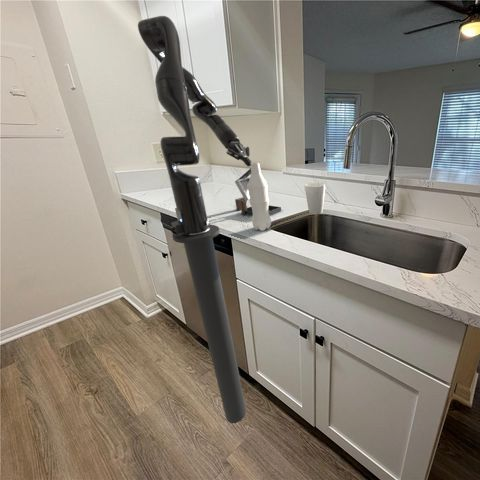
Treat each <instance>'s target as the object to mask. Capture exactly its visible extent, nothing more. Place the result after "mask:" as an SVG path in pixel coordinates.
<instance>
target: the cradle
mask: <svg viewBox="0 0 480 480" xmlns="http://www.w3.org/2000/svg"><path fill="white" fill-rule="evenodd" d="M234 202H235V208H236V209H235V210H236V211H239V212H240V211H241V210H242V211H241V214H242V213H243V214H242V216H247V215H246V208H248V205H247V203H245V199H244V197H243V196H242V197H239V198H235V199H234Z"/></svg>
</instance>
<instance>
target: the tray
mask: <svg viewBox="0 0 480 480" xmlns="http://www.w3.org/2000/svg"><path fill="white" fill-rule="evenodd" d="M240 211H241V215H243V213H242V210H240ZM268 211H269V216H273V215H275V214H277V213H280V212H282V207H281V206H275V205H269V206H268ZM245 216H251V217H253V211H252V207H251V206H248V207H247V208H246V215H245Z"/></svg>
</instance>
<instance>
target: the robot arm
mask: <svg viewBox="0 0 480 480" xmlns="http://www.w3.org/2000/svg"><path fill="white" fill-rule="evenodd" d="M137 29H138V33H139V36H140V38H141V40H142V41H143V43H144V44H145V46H146V48H147V49H148V50H149V51H150V53H152V55H153V56H154V57H155V58H156V59H157V61H158V62H159V63H160V65H159V66H158V69H157V71H156V74H155V78H154V84H155V85H154V86H155V90H156V95H157V101H158V102H159V104H160V105H161V107H162V108H163V109H164V110H165V112H166V113H167V114H168V115H169V116H170V117H171V118H172V119H173V121H175V122H176V123H177V124H178V126H179V128H180V129H181V130H182V132H183V134H184V135H183V136H181V135H179V136H176V135H175V136H163V137H161V138H160V150H161V153H162V158H163V160H164V163H165V167H166V170H167V175H168V179H169V182H170V186H171V191H172V195H173V199H174V203H175V208H174V211H175V215H176V219H177V220H175V221H171V222H170V224H171V227H172V228H171V229H170V231H171V234H172V235H173V234H179V233H182V234H183V235H184V236H186V237H188V236H196V235H201V234H204V233H207V232H208V231H209V230H210V228H209V225H210V219H209V218H208V215H207V210H206V205H205V199H204V195H203V189H202V185H201V179H200V177H199V176H197V175H196V174H195V175H194V174H190V173H187V172H184V171H183V170H181V169H179V168H178V167H184V166H195V165H198V164H199V163H200V157H201V156H200V150H199V146H198V142H197V141H198V140H197V137H196V134H195V130H194V125H193V122H192V115H194V117H195V118H196V119H198V120H199V121H201V122H202V123H203V124H205V125H206V126H207V127H208V128H209V129H210V130H211V131H212V132H213V134H214V135H215V137H216V138H217V140H218V141H219V142H220V143H221V145H222V146H223V147H224V148H225V150H226V153H225V154H227V155H228V156H230V157H232V158H234V159H235V160H237V161H239V160H240V161H242V162H243V163H244V165H245V166H246V167H251V163H253V161H252V160H251V159H250V158H249V157H250V155H251V154H250V147H249V146H244V144H242V143H241V141H240V137H238V135H237V134H236V133H235V132H234V130H233V129H232V127H231V126H229V124H227V123H226V122H225V120H224V119H223V117H221V116H220V115H219V114H216V113H217V111H218V107H217V104H216V103H215V102H214V101H213V100H212V99H211V98H210V97H209V96H208V95H207V94H206V93H205V92H204V90H203V88H202V87H201V85H200V83H199V82H198V80H197V79H196V77H195V76H194V74H192V73H191V72H190V71H189V70H188V69H186V68H185V67H183V63H182V51H181V50H182V49H181V42H180V37H179V33H178V30H177V27H176V25H175V23H174V22H173V20H172V19H171V18H170V17H168V16H167V15H157V16H154V17H149V18H145V19H142V20H139V21H138V23H137ZM189 102H191V103H195V104H193V106H191V108H190V103H189ZM191 110H192V115H191Z"/></svg>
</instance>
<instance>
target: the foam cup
mask: <svg viewBox="0 0 480 480" xmlns="http://www.w3.org/2000/svg"><path fill="white" fill-rule="evenodd" d="M304 192H305V197H306V198H305V199H306V203H307V209H308V213H309V215H315V216H316V215H322V214H323V212H324V204H325V202H324V201H325V192H326V183H323V182H309V183H308V182H307V183H305V184H304Z"/></svg>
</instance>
